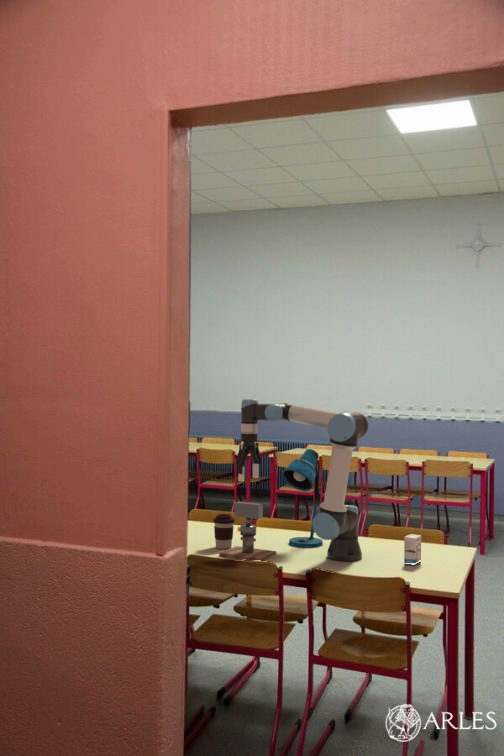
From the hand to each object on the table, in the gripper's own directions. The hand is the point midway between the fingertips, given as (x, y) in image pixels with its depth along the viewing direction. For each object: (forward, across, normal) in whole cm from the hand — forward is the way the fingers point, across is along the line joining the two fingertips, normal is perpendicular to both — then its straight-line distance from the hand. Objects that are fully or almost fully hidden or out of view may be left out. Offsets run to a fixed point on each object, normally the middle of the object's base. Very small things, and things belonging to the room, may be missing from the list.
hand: (248, 479), depth 339 cm
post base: (+32, +10, +5) cm, 34 cm away
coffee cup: (+32, +2, -12) cm, 34 cm away
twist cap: (+23, +10, +5) cm, 25 cm away
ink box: (+32, -15, +72) cm, 81 cm away
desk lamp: (+32, -24, +17) cm, 43 cm away
